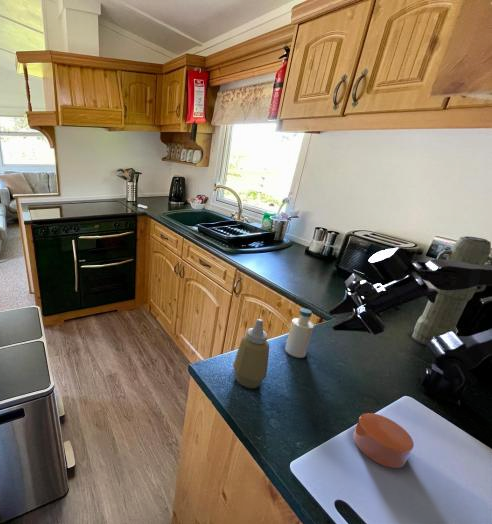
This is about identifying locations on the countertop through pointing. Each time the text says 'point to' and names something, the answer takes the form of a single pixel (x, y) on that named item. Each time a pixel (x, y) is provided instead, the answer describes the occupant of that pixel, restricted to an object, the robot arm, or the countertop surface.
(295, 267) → the countertop surface
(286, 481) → the countertop surface
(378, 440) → the orange short round piece
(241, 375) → the squeeze bottle
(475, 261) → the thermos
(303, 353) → the cream bottle
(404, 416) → the countertop surface
